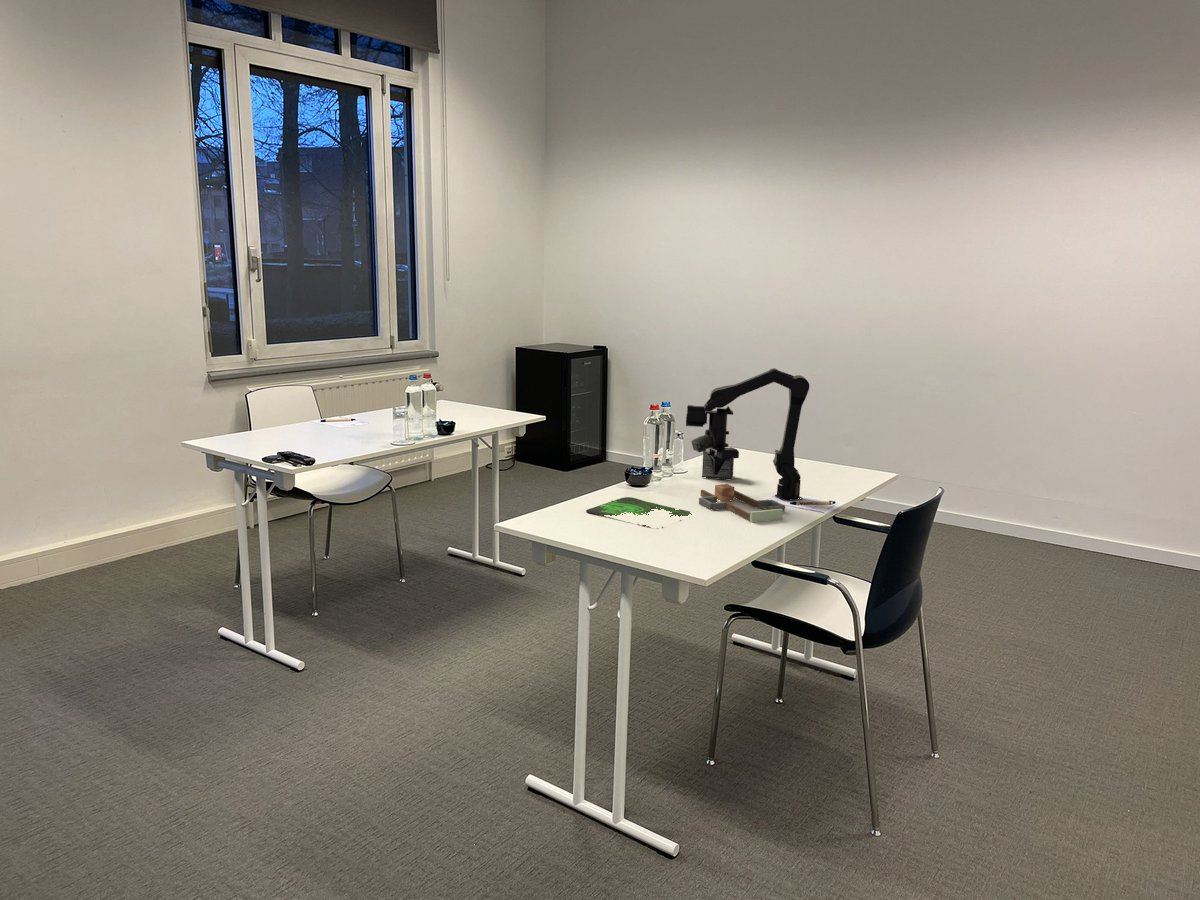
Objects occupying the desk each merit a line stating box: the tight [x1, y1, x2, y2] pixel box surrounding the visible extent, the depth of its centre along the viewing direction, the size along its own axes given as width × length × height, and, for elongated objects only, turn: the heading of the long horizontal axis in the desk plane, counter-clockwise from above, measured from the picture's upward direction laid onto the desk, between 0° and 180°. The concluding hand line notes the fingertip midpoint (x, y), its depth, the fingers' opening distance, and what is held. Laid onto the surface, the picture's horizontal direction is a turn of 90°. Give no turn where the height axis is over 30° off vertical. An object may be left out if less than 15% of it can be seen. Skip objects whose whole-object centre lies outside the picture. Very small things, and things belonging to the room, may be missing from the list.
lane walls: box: [700, 489, 773, 522], centre depth 275 cm, size 10×30×2 cm, turn 22°
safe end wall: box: [749, 509, 784, 523], centre depth 261 cm, size 10×1×3 cm, turn 112°
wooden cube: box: [714, 483, 735, 502], centre depth 283 cm, size 4×4×4 cm
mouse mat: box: [585, 496, 692, 527], centre depth 266 cm, size 27×22×1 cm
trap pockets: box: [698, 496, 786, 514], centre depth 274 cm, size 21×17×2 cm
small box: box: [701, 447, 735, 480], centre depth 312 cm, size 11×6×10 cm, turn 76°
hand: (715, 474), depth 288 cm, fingers closed
